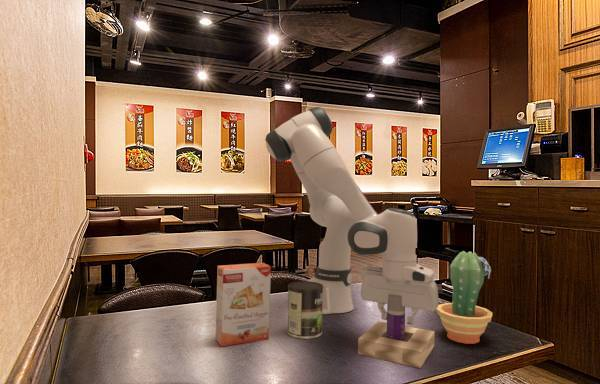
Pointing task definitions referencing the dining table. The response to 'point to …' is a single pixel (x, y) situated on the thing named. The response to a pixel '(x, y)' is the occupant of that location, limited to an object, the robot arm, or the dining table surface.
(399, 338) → the container
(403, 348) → the organizer block
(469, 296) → the potted cactus
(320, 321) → the coffee can
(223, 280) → the cracker box
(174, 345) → the dining table surface
